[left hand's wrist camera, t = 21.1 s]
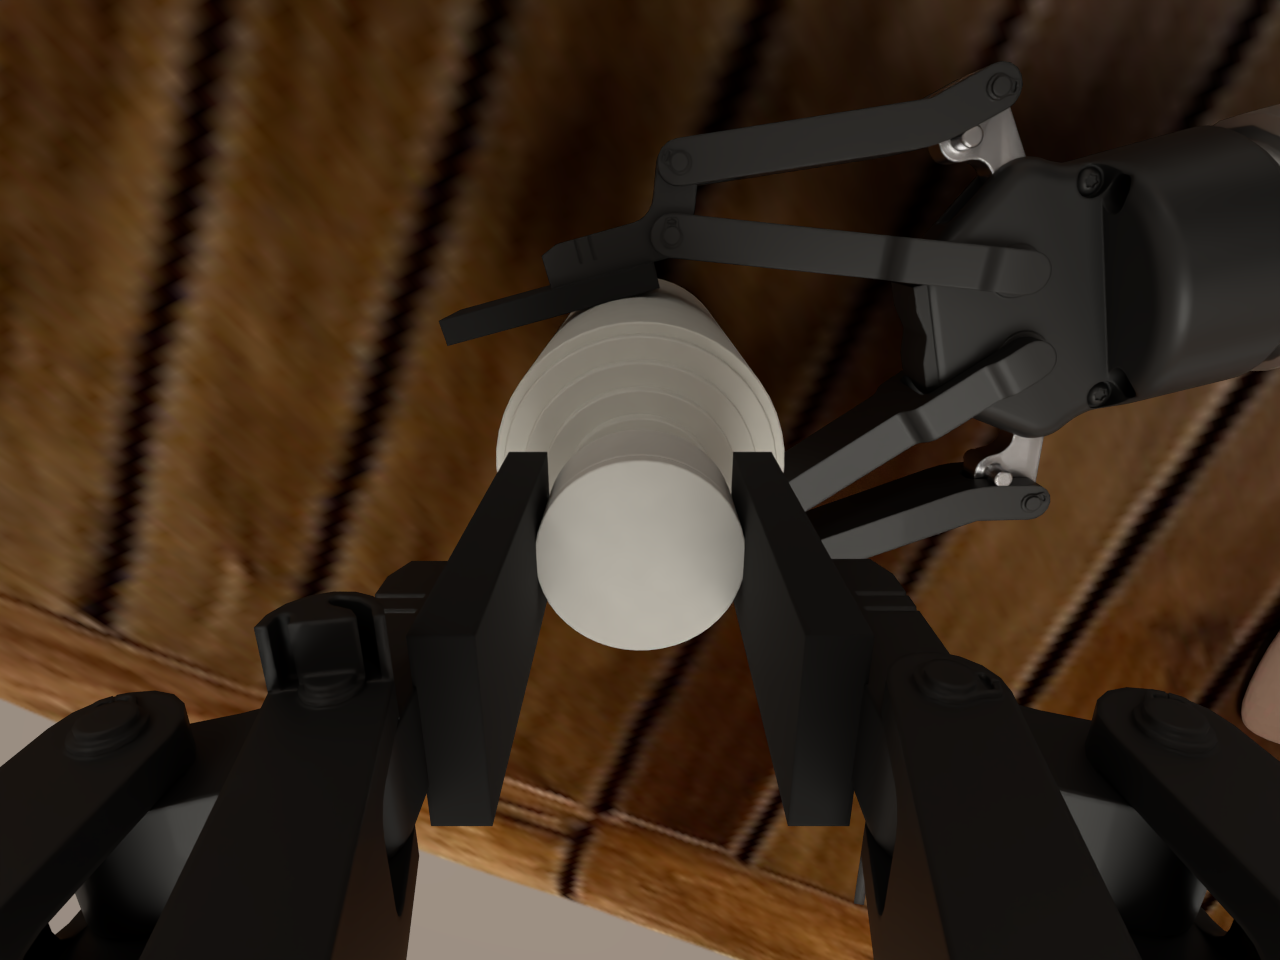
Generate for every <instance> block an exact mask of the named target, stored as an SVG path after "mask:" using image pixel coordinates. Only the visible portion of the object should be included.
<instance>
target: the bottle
mask: <svg viewBox="0 0 1280 960" xmlns="http://www.w3.org/2000/svg"><path fill="white" fill-rule="evenodd" d="M658 282H659V286H660V288H659V289H655V290H652V291H648V292H644V293H641V294H637V295H633V296H630V297H626V298H622V299H619V300H615V301H610V302H607V303H604V304H600V305H596V306H593V307H589V308H585V309H582V310H578V311H574V312H571V313H570V315H569V316H568V317H567V319H566V320H565V321H564V323H563V324H562V326H561V327H560V328H559V330H558V331H557V332H556V334H555V335H554V337H553V338H552V339H551V341H550V342H549V343H548V345H547V346H546V347H545V349H544V350H543V352H542V353H541V354H540V356H539V357H538V358H537V360H536V361H535V362H534V364H533V365H532V367H531V368H530V369H529V371H528V372H527V373H526V375H525V376H524V378H523V379H522V380H521V382H520V383H519V385H518V387H517V388H516V390H515V391H514V393H513V395H512V396H511V398H510V401H509V403H508V405H507V408H506V410H505V412H504V415H503V418H502V422H501V425H500V429H499V434H498V441H497V449H496V467H497V472H498V471H499V469H500V467H501V465H502V463H503V462H504V460H505V458H506V456H507V454H508V453H509V452H547V454H548V475H549V495H550V492H551V490H552V487H553V484H554V482H555V480H556V478H557V476H558V474H559V472H560V471H561V470H562V468H563V467H564V465H565V464H566V463H567V462H568V461H569V460H570V459H571V457H572V456H573V455H574V454H575V453H577V452H578V451H579V450H581V449H582V448H583V447H584V446H586V445H588V444H589V443H591V442H593V441H594V440H596V439H599V438H601V437H603V436H606V435H609V434H612V433H616V432H619V431H626V430H637V429H646V430H656V431H661V432H665V433H669V434H672V435H675V436H677V437H680V438H682V439H684V440H686V441H688V442H690V443H692V444H693V445H695V446H696V447H698V448H699V449H700V450H702V451H703V452H704V453H705V454H706V455H707V456H708V457H709V458H710V459H711V460H712V461H713V462H714V463H715V465H716V466H717V467H718V468H719V470H720V471H721V473H722V475H723V476H724V478H725V480H726V483H727V485H728V487H729V490H730V493H731V485H732V464H733V452H772V454H773V455H774V457H775V459H776V461H777V463H778V464H779V466H780V468H781V470H782V471H783V472H784V443H783V436H782V430H781V426H780V423H779V419H778V416H777V413H776V410H775V408H774V406H773V404H772V401H771V399H770V397H769V395H768V394H767V392H766V390H765V389H764V387H763V385H762V384H761V382H760V381H759V379H758V378H757V377H756V375H755V374H754V372H753V371H752V370H751V368H750V367H749V366H748V364H747V363H746V361H745V360H744V359H743V357H742V356H741V355H740V353H739V352H738V351H737V349H736V348H735V346H734V345H733V344H732V342H731V341H730V340H729V338H728V337H727V336H726V334H725V333H724V331H723V330H722V329H721V327H720V326H719V325H718V323H717V322H716V321H715V319H714V318H713V316H712V315H711V314H710V312H709V311H708V310H707V309H706V307H705V306H704V305H703V304H702V303H701V302H700V301H699V300H698V299H697V298H696V297H695V296H694V295H692V294H691V293H689V292H688V291H687V290H685V289H684V288H682V287H680V286H678V285H676V284H674V283H671V282H668V281H665V280H662V279H658Z"/></svg>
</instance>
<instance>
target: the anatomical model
mask: <svg viewBox="0 0 1280 960" xmlns="http://www.w3.org/2000/svg"><path fill="white" fill-rule="evenodd" d="M1241 715H1242V720H1243V723H1244V724H1245V726H1246V727H1247V728H1248V729H1249V730H1251V731H1252V732H1254V733H1255V734H1257V735H1259V736H1261V737H1263V738H1265V739H1267V740H1270V741H1273V742H1276V743H1279V744H1280V631H1279V632H1278V634H1277V635H1276V637H1275V638H1274V639H1273V641H1272V642H1271V644H1270V645H1269V647H1268V649H1267V650H1266V652H1265V654H1264V656H1263V657H1262V659H1261V661H1260V663H1259V664H1258V666H1257V668H1256V670H1255V672H1254V674H1253V676H1252V678H1251V680H1250V683H1249V685H1248V688H1247V691H1246V693H1245V696H1244V699H1243V702H1242V709H1241Z"/></svg>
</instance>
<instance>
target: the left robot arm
mask: <svg viewBox="0 0 1280 960" xmlns="http://www.w3.org/2000/svg"><path fill="white" fill-rule="evenodd" d="M731 496H732V499H733V502H734V505H735V508H736V511H737V514H738V517H739V520H740V523H741V526H742V530H743V534H744V538H745V548H744V567H743V579H742V582H741V585H740V588H739V590H738V592H737V594H736V596H735V598H734V600H733V601H734V605H735V609H736V613H737V618H738V622H739V626H740V630H741V634H742V638H743V642H744V646H745V651H746V655H747V659H748V663H749V667H750V671H751V675H752V679H753V684H754V688H755V692H756V696H757V700H758V704H759V708H760V712H761V717H762V721H763V725H764V729H765V733H766V737H767V741H768V745H769V750H770V754H771V758H772V762H773V766H774V770H775V774H776V778H777V782H778V787H779V791H780V795H781V799H782V803H783V807H784V811H785V815H786V820H787V824H788V826H849V824H850V817H851V809H852V802H853V794H854V791H855V794H856V796H857V799H858V802H859V804H860V807H861V810H862V812H863V815H864V818H865V820H866V822H865V829H864V836H863V843H862V850H861V857H860V864H859V871H858V878H857V885H856V892H855V900H854V903H855V904H862V905H864V900H865V894H866V900H867V908H868V916H869V924H870V932H871V940H872V948H873V956H874V960H1280V762H1279V761H1278V760H1277V759H1276V758H1274V757H1273V756H1272V755H1271V754H1269V753H1268V752H1267V751H1266V750H1264V749H1263V748H1262V747H1261V746H1259V745H1258V744H1257V743H1256V742H1254V741H1253V740H1252V739H1251V738H1249V737H1248V736H1247V735H1246V734H1244V733H1243V732H1242V731H1241V730H1239V729H1238V728H1237V727H1236V726H1234V725H1233V724H1231V723H1230V722H1228V721H1227V720H1225V719H1224V718H1222V717H1220V716H1219V715H1217V714H1216V713H1214V712H1213V711H1211V710H1210V709H1207V708H1205V707H1203V706H1200V705H1198V704H1196V703H1193V702H1191V701H1189V700H1187V699H1186V698H1184V697H1181V696H1178V695H1175V694H1172V693H1169V694H1167V693H1165V692H1164V691H1159V690H1154V689H1141V688H1129V687H1126V688H1120V689H1115V690H1110V691H1107V692H1106V693H1105V694H1103V695H1102V696H1101V697H1100V698H1099V699H1098V700H1097V703H1096V706H1095V710H1094V714H1093V718H1092V721H1091V720H1086V719H1081V718H1076V717H1071V716H1066V715H1061V714H1056V713H1051V712H1046V711H1041V710H1036V709H1033V708H1029V707H1025V706H1021V705H1018V703H1017V701H1016V699H1015V697H1014V695H1013V693H1012V691H1011V690H1010V689H1009V688H1008V686H1007V685H1006V684H1005V683H1004V682H1003V680H1002V679H1001V678H1000V677H999V676H997V675H996V674H994V673H993V672H991V671H990V670H988V669H987V668H985V667H984V666H982V665H980V664H977V663H975V662H972V661H970V660H967V659H965V658H962V657H960V656H955V655H950V654H949V652H948V651H947V649H946V648H945V647H944V645H943V644H942V642H941V641H940V640H939V638H938V637H937V635H936V634H935V633H934V631H933V630H932V628H931V627H930V625H929V624H928V623H927V621H926V620H925V618H924V617H923V616H922V614H921V613H920V611H917V610H916V606H915V604H914V603H913V602H912V600H911V599H910V597H909V596H906V592H905V590H904V589H903V587H902V586H901V585H900V583H899V582H898V580H897V579H896V578H895V576H894V575H893V574H892V573H891V572H889V571H887V570H886V569H884V568H883V567H881V566H880V565H878V564H877V563H875V562H873V561H872V560H870V559H831V557H830V555H829V554H828V552H827V550H826V548H825V546H824V545H823V543H822V541H821V539H820V538H819V536H818V534H817V532H816V530H815V529H814V527H813V525H812V523H811V521H810V520H809V518H808V516H807V514H806V513H805V511H804V509H803V507H802V505H801V504H800V502H799V500H798V498H797V496H796V495H795V493H794V491H793V489H792V488H791V486H790V484H789V482H788V480H787V479H786V477H785V475H784V473H783V471H782V470H781V468H780V466H779V464H778V463H777V461H776V459H775V457H774V455H773V454H772V452H733V464H732V485H731ZM548 498H549V475H548V454H547V452H509V453H508V454H507V456H506V458H505V460H504V462H503V463H502V465H501V467H500V469H499V471H498V472H497V474H496V476H495V478H494V479H493V481H492V483H491V485H490V487H489V488H488V490H487V492H486V494H485V496H484V497H483V499H482V501H481V503H480V504H479V506H478V508H477V510H476V512H475V513H474V515H473V517H472V519H471V521H470V522H469V524H468V526H467V528H466V530H465V531H464V533H463V535H462V537H461V538H460V540H459V542H458V544H457V546H456V547H455V549H454V551H453V553H452V555H451V556H450V558H449V560H448V561H411V562H409V563H408V564H406V565H405V566H403V567H402V568H400V569H399V570H397V571H396V572H394V573H392V574H391V575H389V576H388V577H387V578H386V580H385V581H384V583H383V584H382V585H381V587H380V588H379V590H378V591H377V593H376V594H375V597H373V596H370V595H366V594H362V593H358V592H329V593H323V594H317V595H311V596H307V597H304V598H301V599H299V600H296V601H293V602H290V603H287V604H285V605H283V606H281V607H279V608H278V609H276V610H274V611H272V612H271V613H269V614H267V615H266V616H265V617H264V618H263V619H262V620H261V621H260V622H259V623H258V624H257V625H256V626H255V627H254V631H255V635H256V640H257V644H258V649H259V653H260V658H261V663H262V667H263V672H264V676H265V681H266V686H267V690H268V694H267V696H266V698H265V700H264V703H263V705H262V707H261V708H260V709H257V710H253V711H249V712H245V713H241V714H236V715H231V716H226V717H221V718H216V719H211V720H206V721H201V722H196V723H191V724H190V723H189V719H188V715H187V712H186V708H185V704H184V703H183V702H182V701H181V700H180V699H179V698H178V697H177V696H175V695H174V694H170V693H165V692H160V691H144V692H132V693H125V694H119V695H116V696H115V697H113V696H111V697H108V698H105V699H101V700H99V701H96V702H95V703H93V704H91V705H89V706H87V707H84V708H82V709H80V710H78V711H75V712H73V713H71V714H70V715H68V716H67V717H65V718H64V719H62V720H61V721H59V722H57V723H56V724H54V725H53V726H51V727H50V728H48V729H47V730H46V731H44V732H43V733H42V734H41V735H39V736H38V737H37V738H36V739H34V740H33V741H32V742H31V743H30V744H28V745H27V746H26V747H25V748H23V749H22V750H21V751H20V752H18V753H17V754H16V755H15V756H13V757H12V758H11V759H10V760H8V761H7V762H6V763H5V764H4V765H2V766H1V767H0V960H406V957H407V949H408V942H409V933H410V925H411V917H412V909H413V901H414V893H415V885H416V877H417V869H418V861H419V851H418V843H417V836H416V829H415V823H416V820H417V817H418V815H419V812H420V809H421V807H422V804H423V801H424V799H425V796H426V793H427V798H428V806H429V813H430V821H431V826H493V822H494V817H495V813H496V809H497V805H498V801H499V797H500V793H501V789H502V784H503V780H504V776H505V772H506V768H507V764H508V760H509V756H510V751H511V747H512V743H513V739H514V735H515V731H516V727H517V723H518V718H519V714H520V710H521V706H522V702H523V698H524V694H525V690H526V685H527V681H528V677H529V673H530V669H531V665H532V661H533V657H534V652H535V648H536V644H537V640H538V636H539V632H540V628H541V624H542V619H543V615H544V611H545V607H546V603H547V598H546V597H545V595H544V593H543V591H542V588H541V586H540V583H539V581H538V574H537V558H536V537H537V533H538V529H539V526H540V523H541V520H542V517H543V514H544V511H545V508H546V505H547V502H548ZM1207 890H1208V891H1209V892H1210V893H1211V894H1212V895H1213V896H1214V897H1215V899H1216V900H1217V901H1218V902H1219V903H1220V904H1221V905H1222V906H1223V907H1224V909H1225V910H1226V911H1227V912H1228V913H1229V914H1230V915H1231V916H1232V917H1233V918H1234V920H1233V923H1232V925H1231V928H1230V929H1229V931H1228V932H1226V931H1224V930H1223V929H1222V928H1221V927H1220V926H1218V925H1217V924H1216V923H1215V922H1214V921H1213V920H1212V919H1211V918H1210V917H1209V915H1208V914H1207V913H1206V912H1205V911H1204V910H1203V909H1202V907H1201V904H1202V901H1203V898H1204V896H1205V893H1206V891H1207ZM74 894H76V897H77V899H78V902H79V905H80V907H81V910H80V911H79V912H78V914H77V915H76V916H75V917H74V918H73V919H72V920H71V922H70V923H69V924H67V925H66V926H65V927H64V928H63V929H61V930H60V931H59V932H58V933H57V934H54V933H53V932H52V931H51V929H50V926H49V924H48V923H49V921H50V920H51V919H52V918H53V917H54V916H55V915H56V914H57V912H58V911H59V910H60V909H61V908H62V907H63V906H64V905H65V904H66V902H67V901H68V900H69V899H70V898H71V897H72V896H73V895H74Z"/></svg>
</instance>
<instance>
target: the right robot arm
mask: <svg viewBox="0 0 1280 960" xmlns="http://www.w3.org/2000/svg"><path fill="white" fill-rule="evenodd" d="M1022 85H1023V83H1022V75H1021V73H1020V71H1019V69H1018V67H1017V66H1015V65H1014V64H1012V63H1011V62H1004V61H1001V62H998V63H995V64H992V65H989V66H987V67H985V68H983V69H980V70H978V71H976V72H973V73H971V74H969V75H967V76H964V77H962V78H960V79H957V80H955V81H953V82H951V83H950V84H948V85H946V86H944V87H942V88H941V89H939V90H937V91H935V92H933V93H932V94H930V95H928V96H926V97H925V98H923V99H921V100H916V101H909V102H903V103H897V104H890V105H884V106H878V107H871V108H865V109H859V110H852V111H846V112H840V113H833V114H827V115H821V116H814V117H808V118H802V119H795V120H789V121H783V122H776V123H770V124H763V125H757V126H751V127H744V128H738V129H732V130H725V131H719V132H713V133H706V134H700V135H694V136H687V137H681V138H676V139H673V140H671V141H668V142H667V143H666V144H665V145H664V146H663V147H662V148H661V151H660V153H659V155H658V158H657V161H656V169H655V180H654V191H653V200H652V205H651V207H650V209H649V211H648V212H647V214H646V215H645V216H644V217H643V218H641V219H640V220H638V221H636V222H634V223H630V224H627V225H623V226H620V227H616V228H613V229H609V230H605V231H602V232H598V233H595V234H591V235H588V236H584V237H580V238H577V239H573V240H570V241H566V242H563V243H559V244H556V245H555V246H554V247H552V248H551V249H550V250H549V251H547V252H546V253H545V254H544V255H542V259H543V262H544V266H545V269H546V272H547V276H548V279H549V282H550V285H549V286H545V287H542V288H538V289H534V290H531V291H527V292H523V293H520V294H516V295H513V296H509V297H505V298H502V299H498V300H494V301H491V302H487V303H484V304H480V305H476V306H473V307H469V308H465V309H462V310H459V311H457V312H455V313H453V314H452V315H450V316H448V317H446V318H444V319H442V320H440V321H439V323H440V326H441V329H442V332H443V334H444V337H445V340H446V343H447V346H449V345H453V344H456V343H460V342H464V341H467V340H471V339H475V338H478V337H482V336H486V335H490V334H493V333H497V332H501V331H504V330H508V329H512V328H515V327H519V326H523V325H526V324H530V323H534V322H537V321H541V320H545V319H548V318H552V317H556V316H560V315H563V314H567V313H571V312H574V311H578V310H582V309H585V308H589V307H593V306H596V305H600V304H604V303H607V302H610V301H615V300H619V299H622V298H626V297H630V296H633V295H637V294H641V293H644V292H648V291H652V290H655V289H659V288H660V286H659V282H658V278H657V274H656V269H655V265H654V262H656V261H660V260H663V259H667V258H677V259H687V260H697V261H706V262H716V263H726V264H736V265H745V266H755V267H765V268H775V269H784V270H794V271H804V272H814V273H823V274H833V275H843V276H853V277H862V278H872V279H881V280H888V281H891V286H892V293H893V300H894V306H895V308H896V310H897V313H898V315H899V317H900V320H901V322H902V324H903V327H904V330H903V338H902V345H901V359H902V366H903V370H902V371H901V372H899V373H898V374H896V375H895V376H893V377H892V378H890V379H888V380H887V381H885V382H884V383H883V384H881V385H880V386H879V387H878V389H877V391H876V393H875V394H874V395H873V396H872V397H870V398H869V399H867V400H865V401H864V402H862V403H861V404H859V405H858V406H856V407H854V408H853V409H851V410H850V411H848V412H847V413H845V414H844V415H842V416H840V417H839V418H837V419H836V420H834V421H833V422H831V423H829V424H828V425H826V426H825V427H823V428H822V429H820V430H818V431H817V432H815V433H814V434H812V435H811V436H809V437H808V438H806V439H804V440H803V441H801V442H800V443H798V444H797V445H795V446H793V447H792V448H790V449H789V450H787V451H786V452H784V472H783V473H784V475H785V477H786V479H787V480H788V482H789V484H790V486H791V488H792V489H793V491H794V493H795V495H796V496H797V498H798V500H799V502H800V504H801V505H802V507H803V509H804V511H805V513H806V514H807V516H808V518H809V520H810V521H811V523H812V525H813V527H814V529H815V530H816V532H817V534H818V536H819V538H820V539H821V541H822V543H823V545H824V546H825V548H826V550H827V552H828V554H829V555H830V557H831V559H866V558H869V557H871V556H874V555H877V554H880V553H883V552H886V551H889V550H892V549H895V548H898V547H901V546H904V545H907V544H910V543H913V542H916V541H919V540H922V539H925V538H928V537H931V536H933V535H936V534H939V533H942V532H945V531H948V530H951V529H954V528H957V527H960V526H963V525H966V524H969V523H972V522H975V521H987V520H1029V519H1034V518H1037V517H1038V516H1040V515H1042V514H1043V513H1044V512H1045V511H1046V510H1047V509H1048V506H1049V504H1050V495H1049V493H1048V491H1047V490H1046V489H1045V488H1043V487H1042V486H1040V485H1039V484H1037V483H1036V476H1037V471H1038V465H1039V460H1040V454H1041V448H1042V443H1043V437H1044V436H1047V435H1049V434H1052V433H1054V432H1055V431H1057V430H1059V429H1060V428H1061V427H1063V426H1064V425H1065V424H1066V423H1067V422H1069V421H1070V420H1072V419H1073V418H1075V417H1076V416H1078V415H1080V414H1082V413H1084V412H1086V411H1089V410H1093V409H1097V408H1104V407H1110V406H1116V405H1122V404H1127V403H1132V402H1137V401H1141V400H1145V399H1149V398H1153V397H1157V396H1161V395H1165V394H1169V393H1174V392H1178V391H1182V390H1186V389H1190V388H1194V387H1198V386H1202V385H1206V384H1210V383H1215V382H1219V381H1223V380H1227V379H1231V378H1234V377H1238V376H1240V375H1242V374H1245V373H1247V372H1249V371H1263V370H1271V369H1275V368H1279V367H1280V104H1277V105H1273V106H1270V107H1266V108H1262V109H1258V110H1255V111H1251V112H1247V113H1244V114H1240V115H1237V116H1234V117H1231V118H1228V119H1225V120H1222V121H1219V122H1218V123H1216V124H1215V125H1213V126H1196V127H1192V128H1188V129H1185V130H1181V131H1177V132H1174V133H1170V134H1166V135H1163V136H1159V137H1155V138H1152V139H1148V140H1144V141H1141V142H1137V143H1133V144H1130V145H1126V146H1122V147H1119V148H1115V149H1111V150H1108V151H1104V152H1100V153H1097V154H1093V155H1089V156H1086V157H1082V158H1078V159H1075V160H1071V161H1067V162H1063V163H1060V162H1053V161H1049V160H1046V159H1043V158H1040V157H1033V156H1025V153H1024V150H1023V146H1022V143H1021V140H1020V137H1019V134H1018V130H1017V127H1016V124H1015V121H1014V118H1013V115H1012V111H1011V108H1010V106H1012V105H1013V104H1014V103H1015V102H1016V100H1017V99H1018V97H1019V95H1020V93H1021V89H1022ZM926 147H927V149H928V151H929V154H930V156H931V157H932V159H933V160H934V161H936V162H937V163H940V164H946V165H948V164H953V163H959V162H966V163H968V164H970V165H971V166H973V167H974V168H975V170H976V172H977V174H978V176H977V177H976V178H975V179H974V180H973V181H972V182H971V183H970V184H969V185H968V187H967V188H966V189H965V190H964V191H963V192H962V193H961V194H960V195H959V197H958V198H957V199H956V200H955V201H954V202H953V203H952V204H951V205H950V207H949V208H948V209H947V210H946V211H945V212H944V213H943V214H942V215H941V216H940V218H939V219H938V220H937V221H936V222H935V223H934V224H933V225H932V226H931V227H930V229H929V230H928V231H927V232H926V233H925V234H924V235H923V236H922V237H921V239H918V238H909V237H898V236H888V235H878V234H869V233H859V232H850V231H840V230H831V229H821V228H811V227H802V226H792V225H783V224H773V223H764V222H754V221H745V220H735V219H725V218H716V217H706V216H697V215H694V211H695V202H696V193H697V186H700V185H707V184H713V183H720V182H726V181H733V180H739V179H746V178H752V177H759V176H765V175H772V174H778V173H785V172H791V171H798V170H804V169H811V168H817V167H824V166H830V165H837V164H843V163H850V162H856V161H863V160H869V159H875V158H882V157H888V156H892V155H897V154H901V153H905V152H909V151H913V150H917V149H921V148H926ZM971 418H974V419H977V420H979V421H982V422H984V423H987V424H989V425H992V426H994V427H997V428H999V429H1000V431H999V434H998V436H997V437H996V439H995V440H994V441H992V442H991V443H990V444H988V445H986V446H982V447H978V448H975V449H970V450H968V451H967V452H966V453H965V454H964V457H963V459H964V462H958V463H949V464H944V465H939V466H935V467H932V468H928V469H925V470H922V471H919V472H917V473H914V474H911V475H908V476H905V477H902V478H900V479H897V480H894V481H891V482H888V483H885V484H882V485H880V486H877V487H874V488H871V489H868V490H865V491H863V492H860V493H857V494H854V495H851V496H848V497H845V498H843V499H840V500H837V501H834V502H831V503H828V504H826V505H823V506H820V507H817V508H814V509H811V508H812V507H814V506H816V505H817V504H819V503H820V502H822V501H824V500H825V499H827V498H829V497H830V496H832V495H833V494H835V493H837V492H838V491H840V490H842V489H843V488H845V487H846V486H848V485H850V484H851V483H853V482H855V481H856V480H858V479H859V478H861V477H863V476H864V475H866V474H868V473H869V472H871V471H872V470H874V469H876V468H877V467H879V466H881V465H882V464H884V463H885V462H887V461H889V460H890V459H892V458H894V457H895V456H897V455H898V454H900V453H902V452H903V451H905V450H907V449H908V448H910V447H911V446H913V445H915V444H917V443H922V442H930V441H933V440H936V439H938V438H940V437H942V436H943V435H945V434H946V433H948V432H950V431H951V430H953V429H955V428H956V427H958V426H960V425H961V424H963V423H964V422H966V421H968V420H969V419H971ZM809 509H811V510H809ZM807 510H808V511H807Z"/></svg>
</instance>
